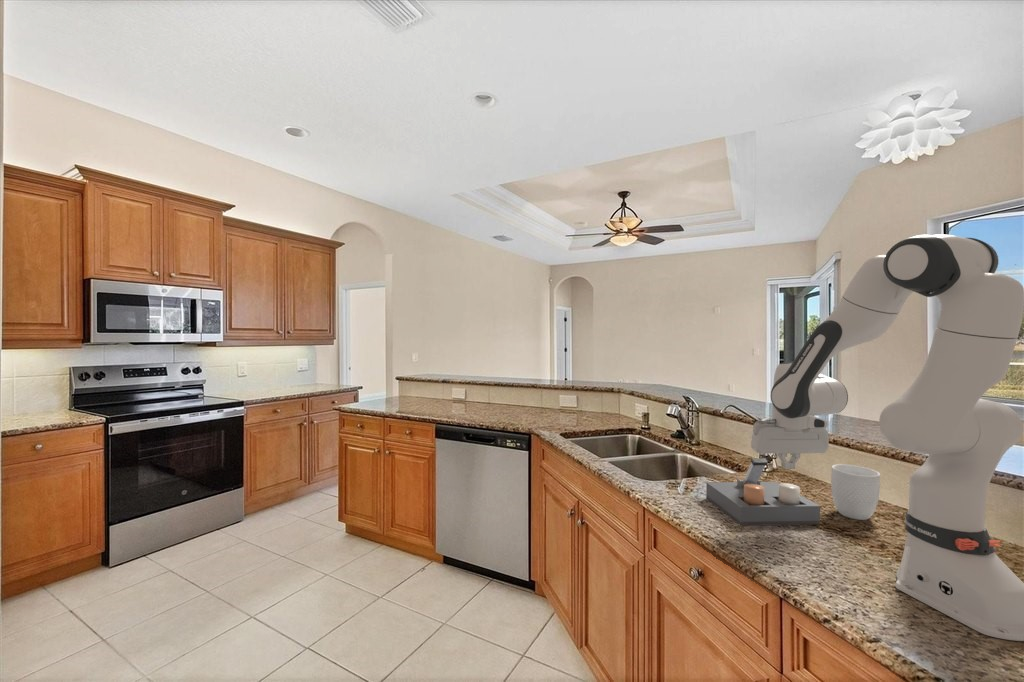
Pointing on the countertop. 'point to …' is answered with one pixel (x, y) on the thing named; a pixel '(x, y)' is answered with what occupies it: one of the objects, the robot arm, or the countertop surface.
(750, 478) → the lever
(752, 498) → the terracotta button
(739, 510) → the console
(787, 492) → the white button
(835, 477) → the mug
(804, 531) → the countertop surface
